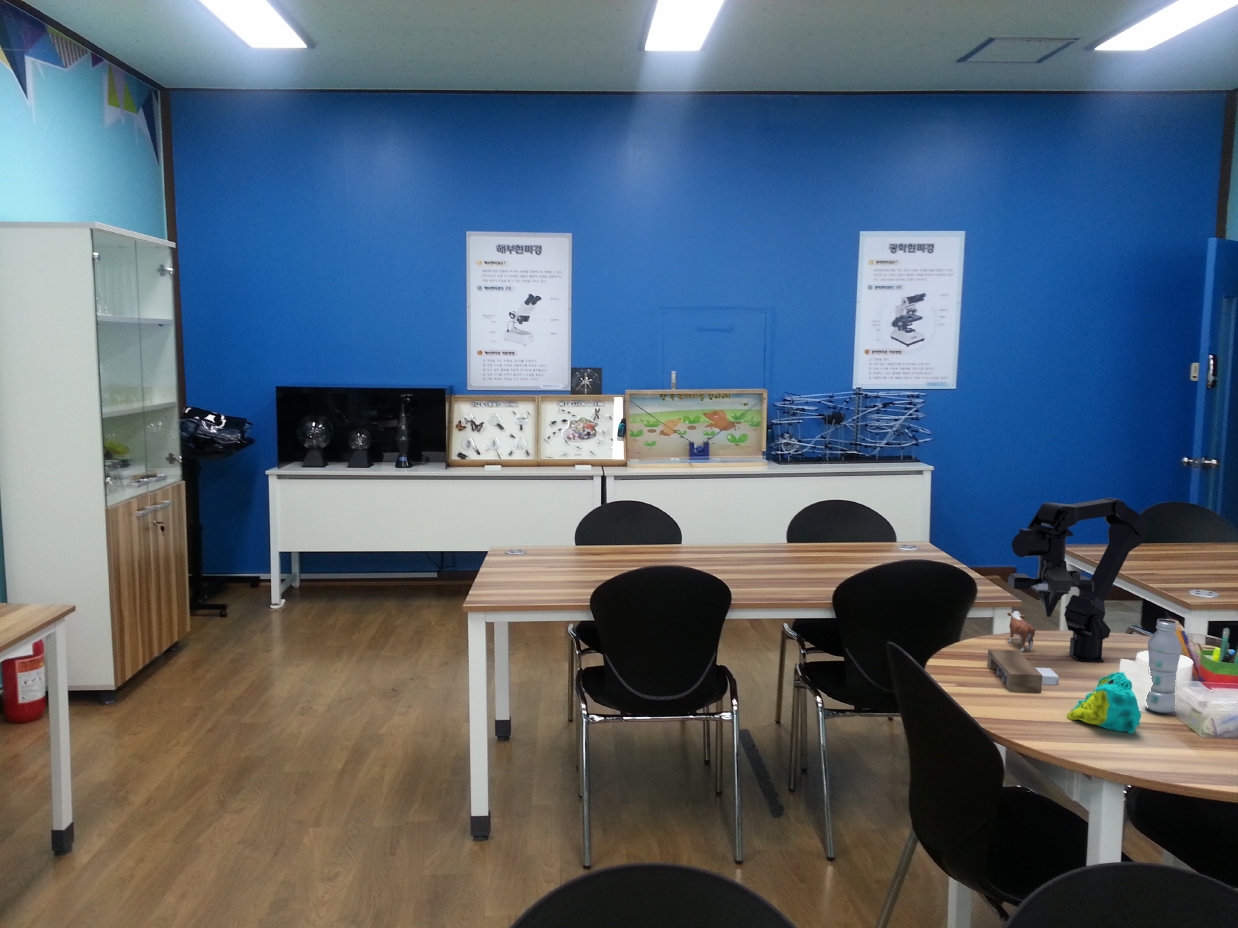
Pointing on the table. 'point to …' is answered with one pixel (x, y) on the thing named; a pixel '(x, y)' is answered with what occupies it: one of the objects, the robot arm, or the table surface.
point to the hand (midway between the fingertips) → (1048, 616)
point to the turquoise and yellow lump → (1110, 705)
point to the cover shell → (1047, 676)
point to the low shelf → (1015, 671)
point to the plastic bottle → (1163, 666)
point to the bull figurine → (1021, 630)
